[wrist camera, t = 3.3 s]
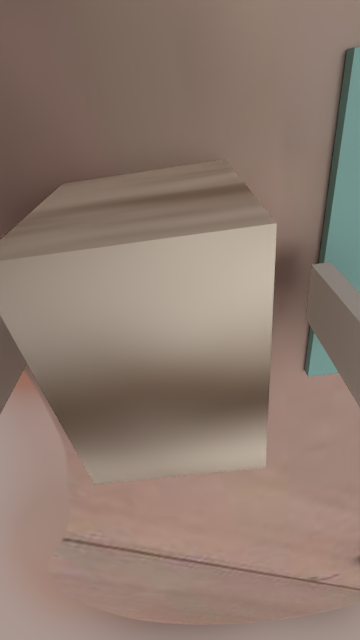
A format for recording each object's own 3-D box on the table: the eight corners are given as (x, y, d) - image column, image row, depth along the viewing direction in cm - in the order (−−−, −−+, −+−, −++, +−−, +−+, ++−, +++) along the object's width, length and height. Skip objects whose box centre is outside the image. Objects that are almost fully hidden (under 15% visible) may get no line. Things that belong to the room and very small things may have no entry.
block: (63, 182, 14) (-29, 264, 7) (224, 159, 14) (276, 223, 7) (118, 354, 20) (94, 484, 13) (232, 340, 19) (265, 467, 13)
